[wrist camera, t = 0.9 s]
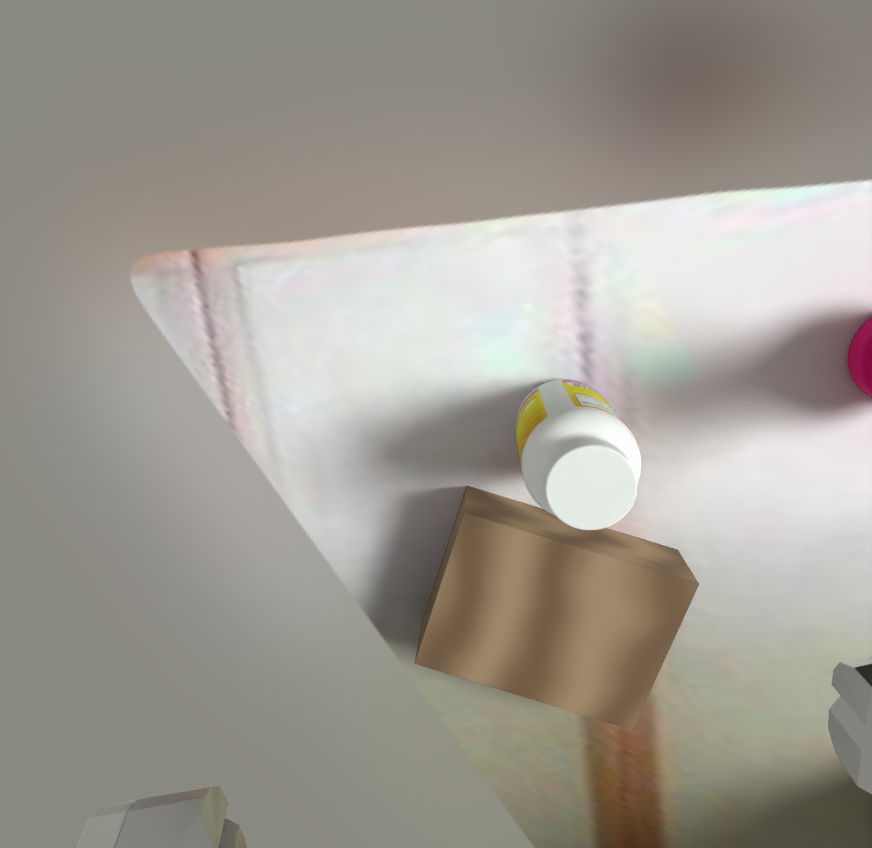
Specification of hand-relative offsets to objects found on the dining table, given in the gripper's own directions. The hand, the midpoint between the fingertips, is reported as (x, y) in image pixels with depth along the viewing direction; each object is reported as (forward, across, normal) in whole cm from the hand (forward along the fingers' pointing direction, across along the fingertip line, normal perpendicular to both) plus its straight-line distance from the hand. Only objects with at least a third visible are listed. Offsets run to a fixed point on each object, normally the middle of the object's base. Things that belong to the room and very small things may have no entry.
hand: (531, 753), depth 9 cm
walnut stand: (+33, +5, -25) cm, 42 cm away
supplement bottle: (+35, +8, -13) cm, 38 cm away
